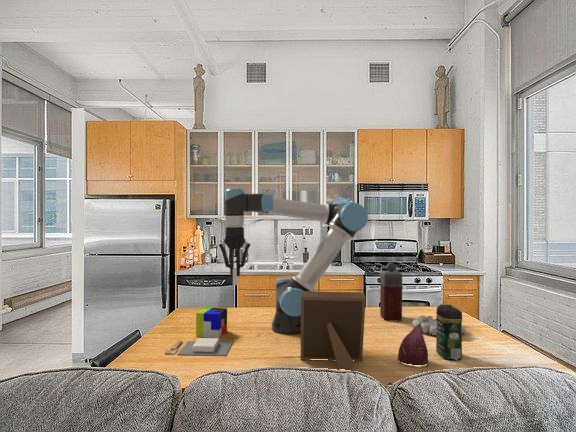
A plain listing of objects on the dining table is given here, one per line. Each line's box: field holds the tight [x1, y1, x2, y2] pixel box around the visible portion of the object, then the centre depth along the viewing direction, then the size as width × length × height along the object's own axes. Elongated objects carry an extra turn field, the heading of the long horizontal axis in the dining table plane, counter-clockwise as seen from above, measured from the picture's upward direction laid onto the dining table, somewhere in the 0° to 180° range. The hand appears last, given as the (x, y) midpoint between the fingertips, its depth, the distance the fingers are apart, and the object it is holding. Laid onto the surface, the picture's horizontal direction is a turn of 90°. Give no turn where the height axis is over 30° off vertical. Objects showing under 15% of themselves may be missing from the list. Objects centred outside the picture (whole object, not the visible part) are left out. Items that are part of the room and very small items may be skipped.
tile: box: [192, 337, 220, 352], centre depth 143 cm, size 2×9×8 cm
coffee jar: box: [435, 304, 463, 360], centre depth 137 cm, size 10×8×19 cm
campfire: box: [411, 315, 467, 336], centre depth 166 cm, size 22×21×6 cm
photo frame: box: [300, 290, 367, 370], centre depth 128 cm, size 15×22×25 cm
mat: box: [176, 340, 234, 357], centre depth 143 cm, size 18×14×1 cm
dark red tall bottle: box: [379, 262, 403, 321], centre depth 187 cm, size 9×11×28 cm
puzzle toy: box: [195, 306, 228, 339], centre depth 161 cm, size 10×10×10 cm
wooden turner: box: [164, 340, 183, 356], centre depth 143 cm, size 4×12×1 cm, turn 178°
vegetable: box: [397, 324, 429, 365], centre depth 132 cm, size 10×10×15 cm
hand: (235, 284), depth 151 cm, fingers closed
